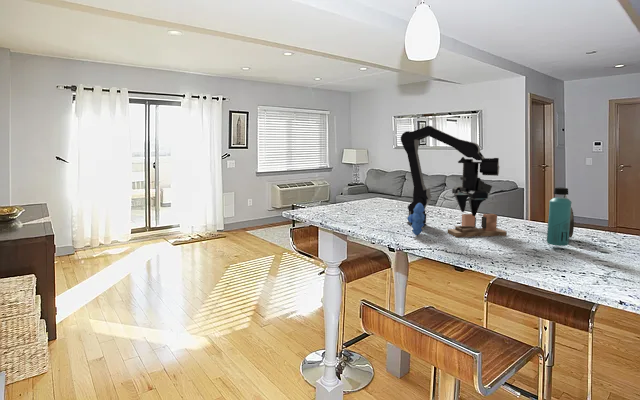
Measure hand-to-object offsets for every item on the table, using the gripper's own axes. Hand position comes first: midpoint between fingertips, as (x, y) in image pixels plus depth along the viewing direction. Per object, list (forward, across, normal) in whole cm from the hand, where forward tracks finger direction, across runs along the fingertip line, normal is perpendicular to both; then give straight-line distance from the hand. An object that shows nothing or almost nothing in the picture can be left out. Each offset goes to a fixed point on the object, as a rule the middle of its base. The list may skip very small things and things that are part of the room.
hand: (468, 213), depth 166 cm
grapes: (+7, -6, +24) cm, 26 cm away
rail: (+6, -9, +1) cm, 11 cm away
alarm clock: (+6, -21, -25) cm, 33 cm away
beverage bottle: (+6, -32, -15) cm, 36 cm away
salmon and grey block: (+6, 0, 0) cm, 6 cm away
